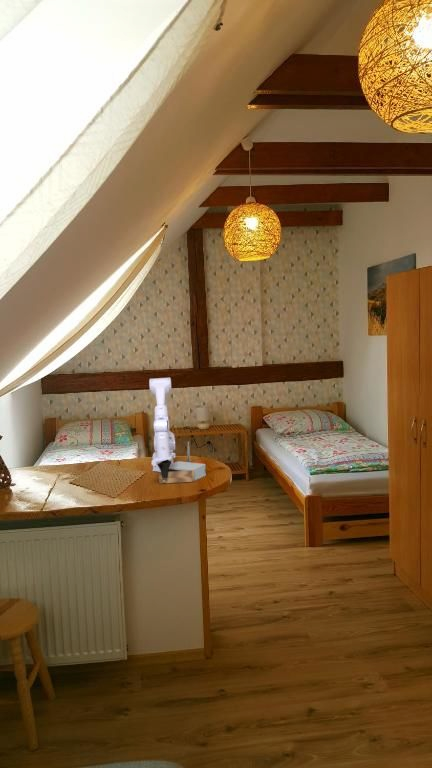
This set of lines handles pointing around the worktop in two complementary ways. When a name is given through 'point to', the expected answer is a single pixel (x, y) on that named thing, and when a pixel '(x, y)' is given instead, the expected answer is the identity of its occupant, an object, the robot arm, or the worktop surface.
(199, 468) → the cabinet
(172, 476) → the door
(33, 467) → the worktop surface
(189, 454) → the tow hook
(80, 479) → the worktop surface
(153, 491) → the worktop surface
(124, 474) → the worktop surface
